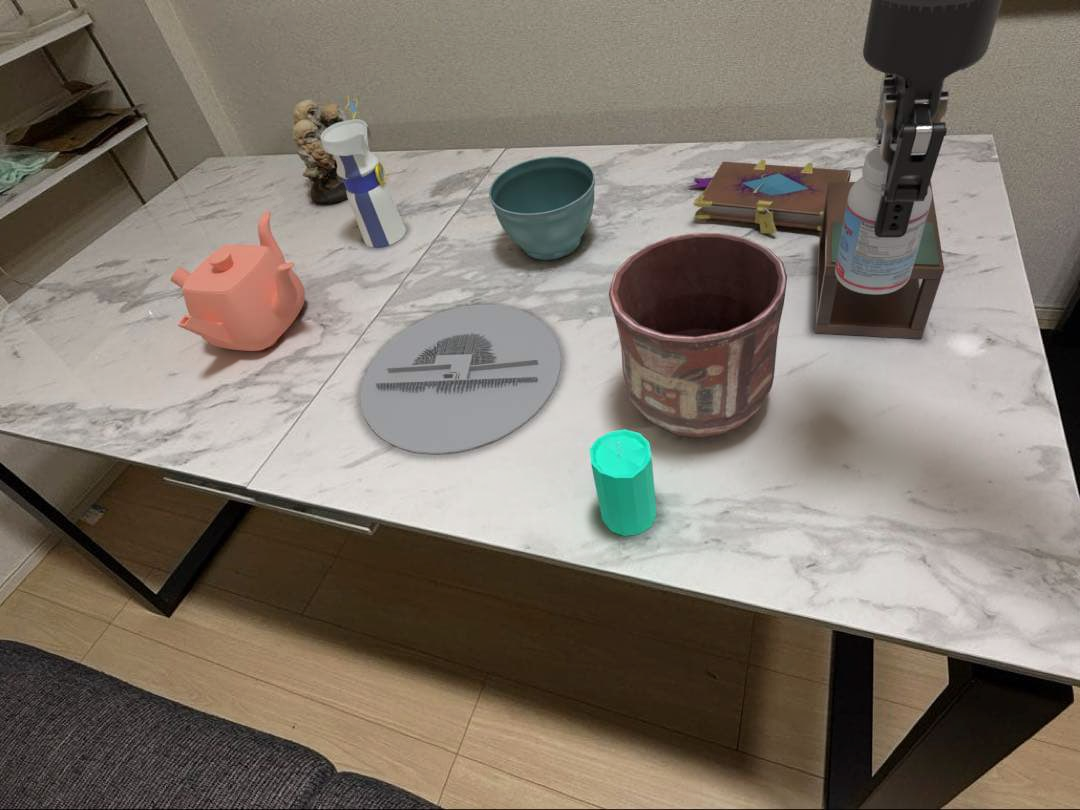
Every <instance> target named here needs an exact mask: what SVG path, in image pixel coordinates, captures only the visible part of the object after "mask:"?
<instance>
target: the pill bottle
mask: <svg viewBox="0 0 1080 810" xmlns="http://www.w3.org/2000/svg"><path fill="white" fill-rule="evenodd" d="M878 146H879V147H878ZM878 146H877V147H875V148H872V149H871V150H870V151H869V152H867V154H866V156H865V158H864V162H863V167H862V169H861V172H862V175H861V176H860V178H858V179H857V180H856V181H854V182H855V183H854V185H853V186H852V187H851V189H850V192H849V195H848V199H847V204H846V210H845V215H844V221H843V226H842V232H841V238H840V243H839V249H838V254H837V260H836V266H835V274H836V277H837V279H838V280H839V282H840V283H841V284H842V285H844V286H845V287H846V288H848V289H850V290H853V291H855V292H859V293H864V294H887V293H891V292H894V291H896V290H898V289H900V288H902V287H903V286H904V285H905V284H906V283H907V282H908V280H909V279H910V276H911V273H912V269H913V266H914V262H915V259H916V255H917V252H918V248H919V245H920V241H921V238H922V234H923V230H924V227H925V223H926V219H927V216H928V212H929V209H930V205H931V201H932V192H933V190H932V191H931V188H930V186H929V187H928V193H927V196H925V199H924V201H914V204H913V208H912V212H911V216H910V220H909V224H908V227H907V231H906V234H905V235H904V236H902V237H877V236H876V235H875V230H874V227H875V222H876V217H877V213H878V208H879V204H880V199H881V195H882V191H880V189H881V184H883V178H884V171H885V163H884V162H883V161H881V160H880V158H879V154H880V147H881V145H878ZM896 147H897V144H891V148H892V149H893V150H894V151H896ZM909 178H913V176H902V177H901V178H900V179H909Z"/></svg>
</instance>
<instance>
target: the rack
mask: <svg viewBox="0 0 1080 810" xmlns="http://www.w3.org/2000/svg"><path fill="white" fill-rule="evenodd" d="M855 182H856V181H849V182H828V187H827V194H826V200H825V207H824V213H823V220H822V226H821V231H820V233H819V240H818V246H817V266H816V267H817V269H816V271H817V272H816V294H815V295H816V296H815V297H816V298H815V328H814V333H815V334H823V335H838V336H839V335H842V336H858V337H859V336H860V337H875V338H877V337H878V338H897V339H911V340H912V339H913V340H916V339H917V340H922V338H923V335H924V332H925V330H926V326H927V324H928V320H929V317H930V314H931V311H932V308H933V305H934V302H935V300H936V299H935V298H936V295H937V293H938V290H939V287H940V284H941V280H942V277H943V275H944V272H945V264H944V259H943V251H942V246H941V238H940V232H939V231H940V230H939V225H938V218H937V211H936V206H935V205H936V204H935V200H934V192H933V186H932V181H931V180H930V184H929V186H930V188H931V191H932V201H931V205H930V209H929V212H928V216H927V219H926V223H925V227H924V230H923V234H922V238H921V241H920V245H919V248H918V252H917V255H916V259H915V262H914V266H913V269H912V273H911V276H910V279H909V280H908V282H907V283H906V284H905V285H904V286H903V287H902V288H900V289H898V290H896V291H894V292H891V293H887V294H864V293H859V292H855V291H853V290H850V289H848V288H846V287H845V286H844V285H842V284H841V283H840V282H839V280H838V279H837V277H836V274H835V266H836V260H837V254H838V249H839V243H840V238H841V232H842V226H843V221H844V215H845V210H846V204H847V199H848V195H849V192H850V189H851V187H852V186H853V185H854V183H855ZM920 280H921V283H920Z"/></svg>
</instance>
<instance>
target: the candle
mask: <svg viewBox="0 0 1080 810" xmlns="http://www.w3.org/2000/svg"><path fill="white" fill-rule="evenodd" d="M589 457H590V458H589V459H590V465H591V466H590V467H591V470H592V475H593V480H594V485H595V491H596V495H597V500H598V505H599V510H600V515H601V521H602V523H604V525H605V526H606V527H607V528H608V529H609V531H610V532H612V533H615V534H618V535H620V536H623V537H628V536H637V535H640V534H642V533H643V532H645V531H647V530H648V529H650V528H651V527H652V526H653V524H654V521H655V519H656V518H657V515H658V514H657V501H656V491H655V479H654V469H653V468H654V467H653V458H652V451H651V445H650V441H649V440H648V439H646V437H644V435H642V434H641V433H640V432H636V431H633V430H629V429H624V428H623V429H619V430H614V431H609V432H607V433H605V434H603V435H602V436H598V437H597V438H595V440H594V441H593V443H592V444H591V446H590V448H589Z"/></svg>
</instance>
